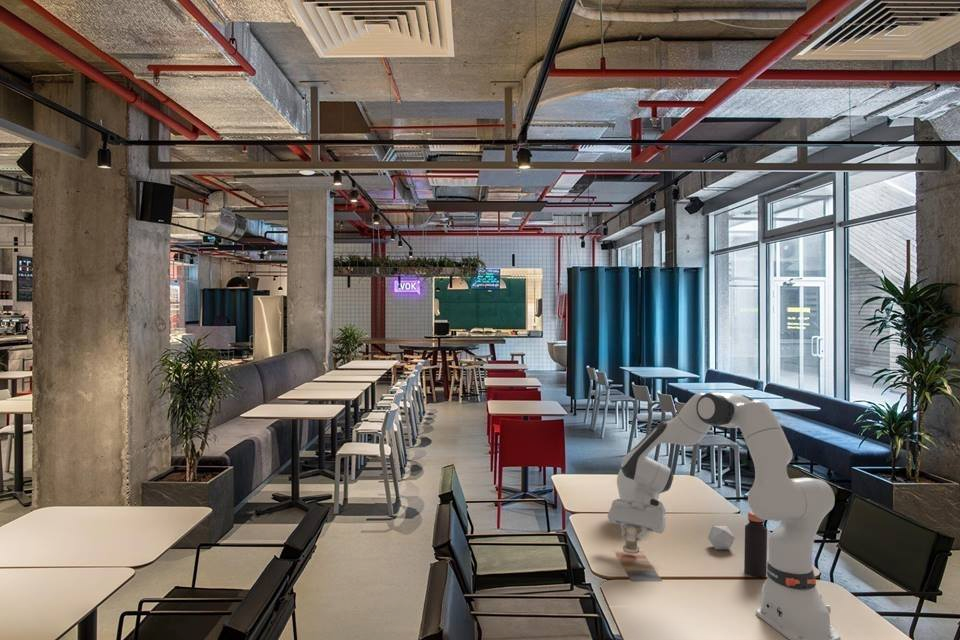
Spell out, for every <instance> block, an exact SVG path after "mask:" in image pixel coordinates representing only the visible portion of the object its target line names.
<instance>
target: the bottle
mask: <svg viewBox="0 0 960 640" xmlns="http://www.w3.org/2000/svg"><path fill="white" fill-rule="evenodd" d="M747 520H748V523H746V525H744V559H743V561H744V565H743V567H744V569H743V570H744V573H746V574H747V575H750V576H752V577H755V578H756V577H757V578H758V577H759V578H761V577H765V576H767V562H768V561H767V560H768V557H767V556H768V555H767V554H768V552H767V551H768V528H767V527H766V526H765V525H764V523H765V520H764V519H760V518H758V517H757V516H756V515H755V514H754V513H753V512H752V510H749V511H748V512H747Z"/></svg>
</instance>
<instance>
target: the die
mask: <svg viewBox="0 0 960 640" xmlns="http://www.w3.org/2000/svg"><path fill="white" fill-rule="evenodd" d="M707 539H708V540H709V542H710V543H711V545H712V547H713V548H714V549H715V550H717V551H718V550H720V551H721V550H725V551H726V550H731V548H732V545H733V543H734V541H735V540H736V537H735V536H734V534H733V532H732V531H731V529H729V527H728V526H727V525H712V526H711V529H710V531H709V533H708V536H707Z"/></svg>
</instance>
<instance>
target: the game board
mask: <svg viewBox="0 0 960 640" xmlns="http://www.w3.org/2000/svg"><path fill="white" fill-rule="evenodd" d="M614 553H615V555H616V557H617V559H618V560H619V562H620V565H621V566H622V567H623V569H624V571H625V572H626V575H627V576H628V578H629V580H630V582H663V580H662V578H661V577H660V576H659V574H658V572H657V571H656V570H655V568H654V567H653V565H652V563H651V562H650V561H649V559H648V558H647V556H646V555H645V553H644V551H642V550H641V551H640V550H639V552H638V553H627V552H625V551H622V550H621V551H618V550H617V551H615V550H614Z"/></svg>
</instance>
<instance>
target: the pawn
mask: <svg viewBox="0 0 960 640" xmlns="http://www.w3.org/2000/svg"><path fill="white" fill-rule="evenodd" d="M625 531H626V534H625V537H624V538H625V539H624V540H625V543H624V545H623V546H622V550H623V551H625V552H627V553H638V552H639V551H640V546H638V540H636V534H638V528H635V527H634V526H631V525H630V526H626V528H625Z"/></svg>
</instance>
